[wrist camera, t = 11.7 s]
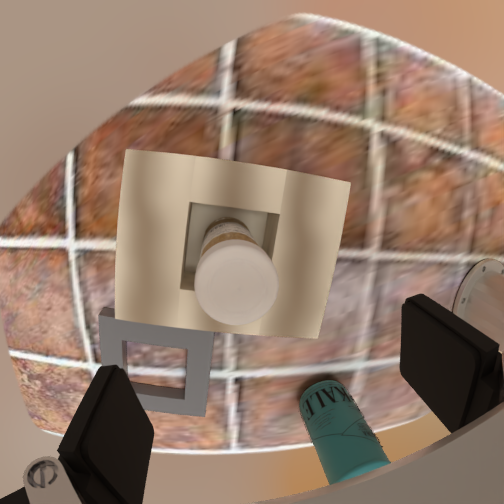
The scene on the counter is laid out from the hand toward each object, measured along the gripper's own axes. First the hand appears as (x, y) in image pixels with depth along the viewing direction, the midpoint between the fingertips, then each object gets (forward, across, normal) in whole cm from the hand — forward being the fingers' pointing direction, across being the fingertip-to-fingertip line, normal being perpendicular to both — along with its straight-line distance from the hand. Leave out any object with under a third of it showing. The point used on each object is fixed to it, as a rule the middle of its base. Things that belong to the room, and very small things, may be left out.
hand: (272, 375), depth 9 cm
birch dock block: (+22, +1, 0) cm, 22 cm away
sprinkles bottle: (+21, +1, 0) cm, 21 cm away
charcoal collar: (+22, +12, +12) cm, 27 cm away
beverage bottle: (+22, -6, +21) cm, 32 cm away
